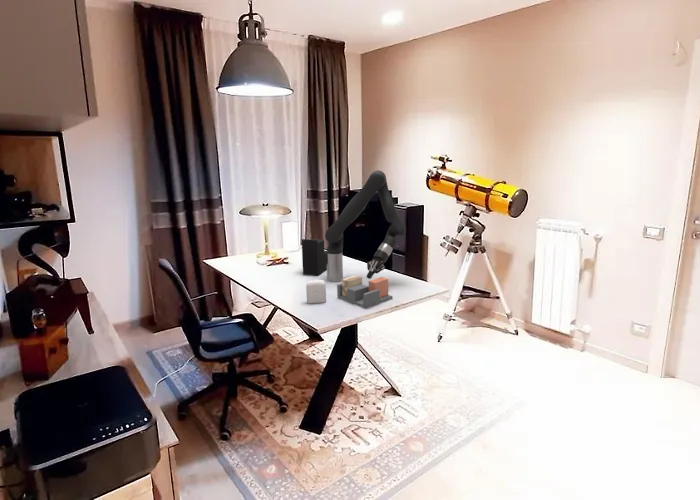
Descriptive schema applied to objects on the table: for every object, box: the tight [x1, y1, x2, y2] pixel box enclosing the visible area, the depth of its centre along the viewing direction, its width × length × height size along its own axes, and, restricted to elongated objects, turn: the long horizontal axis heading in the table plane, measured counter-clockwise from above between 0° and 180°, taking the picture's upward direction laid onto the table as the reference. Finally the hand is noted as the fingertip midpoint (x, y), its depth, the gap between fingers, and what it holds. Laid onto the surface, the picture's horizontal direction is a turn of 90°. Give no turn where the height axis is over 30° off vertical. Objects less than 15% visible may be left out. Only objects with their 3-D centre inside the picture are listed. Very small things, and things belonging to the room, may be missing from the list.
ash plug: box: [341, 275, 363, 297], centre depth 231 cm, size 5×10×9 cm, turn 132°
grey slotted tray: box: [336, 282, 393, 310], centre depth 229 cm, size 22×20×8 cm
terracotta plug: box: [368, 276, 389, 298], centre depth 227 cm, size 5×10×9 cm, turn 133°
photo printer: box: [305, 279, 327, 304], centre depth 225 cm, size 10×4×12 cm, turn 96°
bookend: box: [301, 238, 328, 277], centre depth 279 cm, size 23×11×24 cm, turn 160°
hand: (368, 277), depth 238 cm, fingers closed
